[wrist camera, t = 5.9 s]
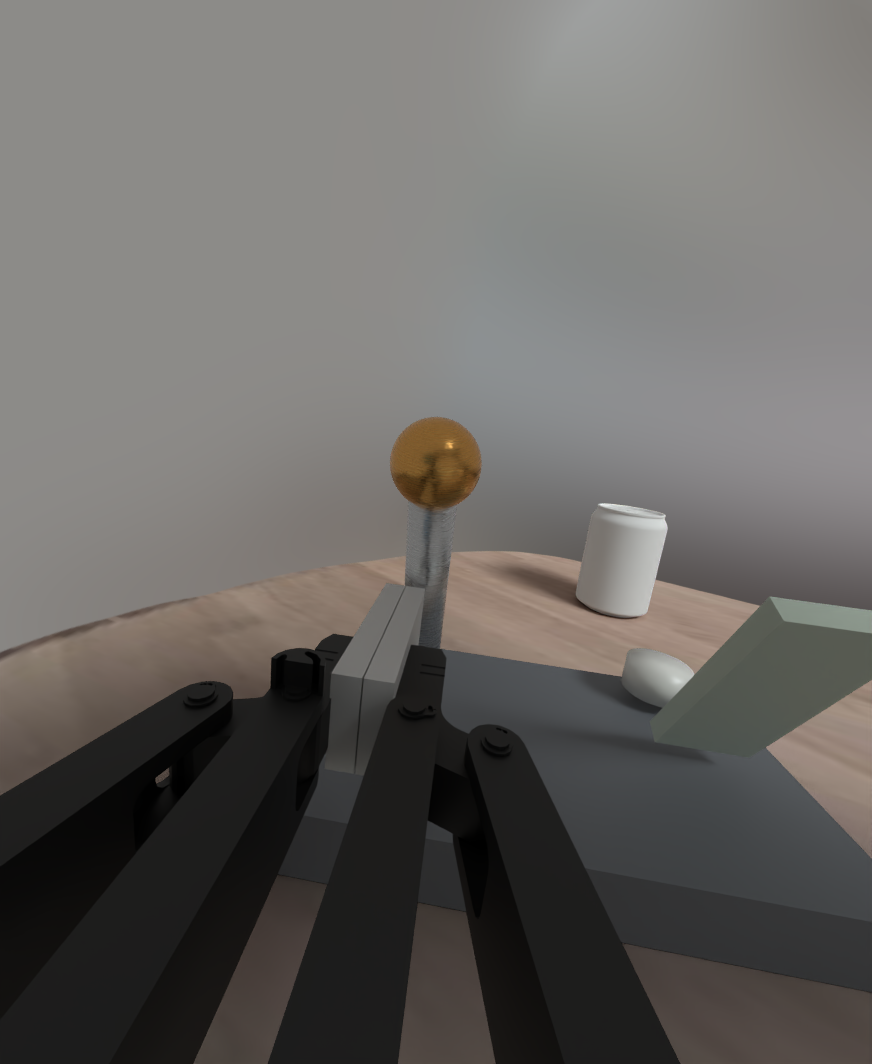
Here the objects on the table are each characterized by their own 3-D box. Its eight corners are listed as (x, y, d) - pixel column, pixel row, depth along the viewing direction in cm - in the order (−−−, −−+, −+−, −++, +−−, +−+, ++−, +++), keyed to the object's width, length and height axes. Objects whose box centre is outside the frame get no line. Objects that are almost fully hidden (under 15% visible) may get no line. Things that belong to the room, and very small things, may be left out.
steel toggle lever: (451, 670, 22) (488, 411, 15) (444, 723, 20) (486, 441, 12) (393, 661, 23) (401, 401, 15) (379, 713, 20) (380, 428, 12)
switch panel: (699, 729, 28) (711, 690, 27) (911, 1000, 14) (944, 935, 14) (357, 674, 30) (360, 636, 29) (255, 869, 16) (257, 806, 15)
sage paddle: (740, 736, 20) (908, 615, 14) (749, 757, 20) (931, 641, 13) (650, 721, 21) (769, 596, 14) (654, 742, 20) (783, 621, 13)
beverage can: (659, 625, 46) (686, 520, 43) (588, 617, 45) (610, 511, 43) (627, 597, 53) (647, 507, 51) (565, 590, 53) (583, 500, 51)
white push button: (669, 678, 27) (676, 653, 26) (698, 713, 23) (706, 685, 23) (613, 669, 27) (619, 644, 27) (633, 703, 23) (640, 675, 23)
